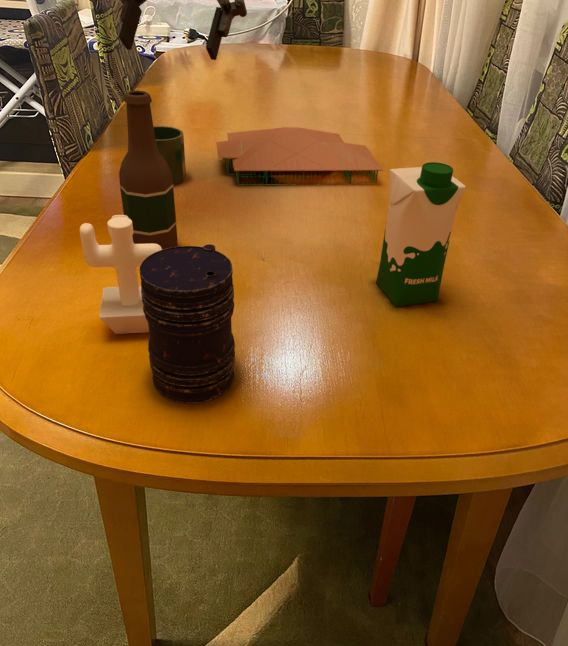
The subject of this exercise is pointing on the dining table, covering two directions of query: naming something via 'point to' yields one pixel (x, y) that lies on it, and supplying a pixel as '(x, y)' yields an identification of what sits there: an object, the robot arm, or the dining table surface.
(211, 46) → the robot arm
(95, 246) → the figurine
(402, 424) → the dining table surface
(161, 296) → the dark oil barrel
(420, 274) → the milk carton
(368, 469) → the dining table surface
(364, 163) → the house
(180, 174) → the green mug
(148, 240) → the beer bottle
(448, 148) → the dining table surface
